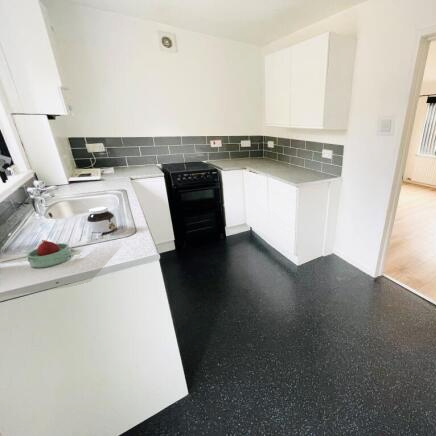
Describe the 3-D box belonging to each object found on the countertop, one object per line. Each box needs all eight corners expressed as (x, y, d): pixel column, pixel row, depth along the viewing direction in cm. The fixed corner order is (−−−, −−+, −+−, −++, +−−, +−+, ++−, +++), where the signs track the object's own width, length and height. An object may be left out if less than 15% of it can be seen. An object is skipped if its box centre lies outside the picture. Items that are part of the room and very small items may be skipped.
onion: (60, 254, 95) (53, 235, 92) (63, 258, 91) (56, 239, 89) (39, 260, 91) (31, 240, 88) (42, 264, 87) (34, 244, 84)
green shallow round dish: (23, 270, 85) (17, 259, 83) (44, 255, 95) (40, 245, 94) (61, 266, 87) (57, 255, 86) (78, 251, 98) (74, 241, 96)
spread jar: (100, 237, 111) (92, 212, 107) (82, 234, 114) (75, 210, 110) (124, 227, 122) (118, 205, 118) (107, 225, 125) (101, 203, 121)
